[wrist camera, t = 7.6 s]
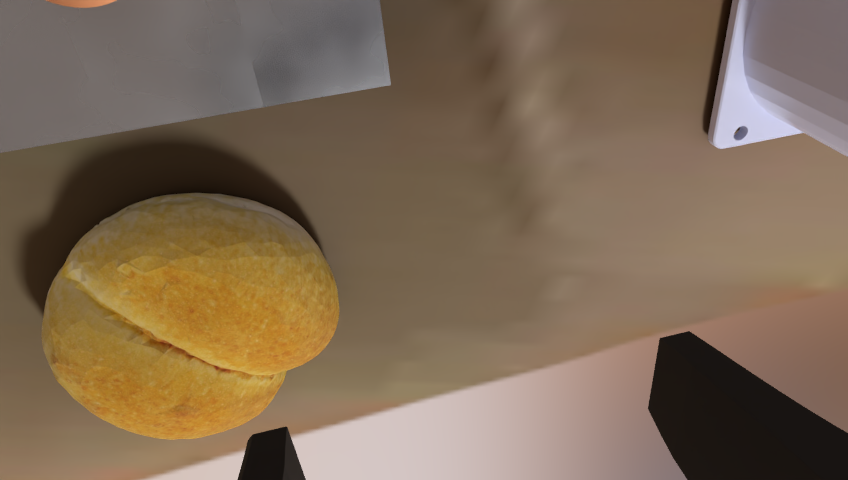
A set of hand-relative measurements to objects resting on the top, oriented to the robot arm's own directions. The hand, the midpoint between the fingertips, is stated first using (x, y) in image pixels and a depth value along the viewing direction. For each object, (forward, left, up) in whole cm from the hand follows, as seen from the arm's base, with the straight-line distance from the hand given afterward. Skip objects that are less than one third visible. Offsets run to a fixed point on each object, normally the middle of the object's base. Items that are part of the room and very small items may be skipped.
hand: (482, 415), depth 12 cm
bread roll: (+7, +3, -10) cm, 13 cm away
